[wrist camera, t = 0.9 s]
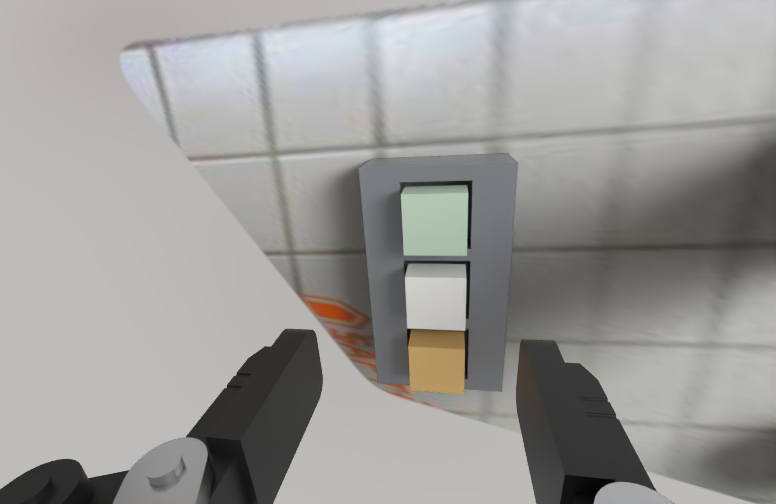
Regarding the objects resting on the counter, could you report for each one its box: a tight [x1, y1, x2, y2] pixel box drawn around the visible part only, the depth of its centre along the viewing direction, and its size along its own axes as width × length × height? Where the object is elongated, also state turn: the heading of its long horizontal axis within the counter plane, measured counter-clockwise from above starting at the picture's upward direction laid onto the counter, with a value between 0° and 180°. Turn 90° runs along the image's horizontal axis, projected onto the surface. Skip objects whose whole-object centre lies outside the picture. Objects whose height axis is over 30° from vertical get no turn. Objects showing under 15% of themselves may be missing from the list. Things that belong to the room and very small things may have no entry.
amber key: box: [408, 329, 465, 394], centre depth 25 cm, size 4×4×2 cm
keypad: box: [358, 153, 518, 392], centre depth 26 cm, size 9×16×4 cm, turn 4°
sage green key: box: [401, 185, 468, 256], centre depth 21 cm, size 4×4×2 cm
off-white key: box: [405, 264, 466, 331], centre depth 23 cm, size 4×4×2 cm
